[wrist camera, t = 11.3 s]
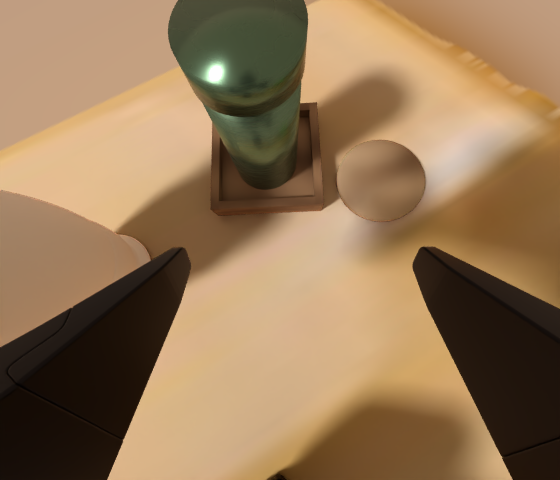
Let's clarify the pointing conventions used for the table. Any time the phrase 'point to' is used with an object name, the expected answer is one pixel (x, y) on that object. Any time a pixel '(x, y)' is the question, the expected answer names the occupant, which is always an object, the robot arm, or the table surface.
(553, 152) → the table surface
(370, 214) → the cork coaster
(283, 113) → the tea canister
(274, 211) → the walnut tray
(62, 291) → the jar
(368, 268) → the table surface
